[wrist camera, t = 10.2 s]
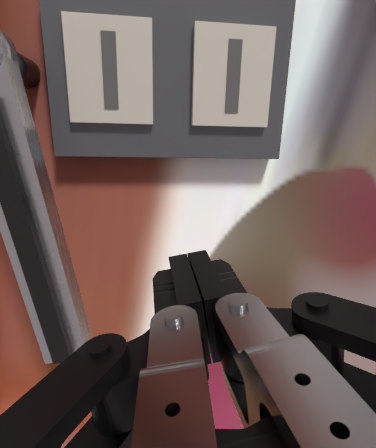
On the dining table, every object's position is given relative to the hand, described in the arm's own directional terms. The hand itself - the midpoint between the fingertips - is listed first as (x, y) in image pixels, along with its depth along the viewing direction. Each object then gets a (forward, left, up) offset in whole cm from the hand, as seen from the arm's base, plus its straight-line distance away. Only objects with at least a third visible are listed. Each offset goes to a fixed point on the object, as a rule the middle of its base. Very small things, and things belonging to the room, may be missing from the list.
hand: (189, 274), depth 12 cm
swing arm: (0, -9, -10) cm, 14 cm away
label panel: (-9, 0, -16) cm, 19 cm away
